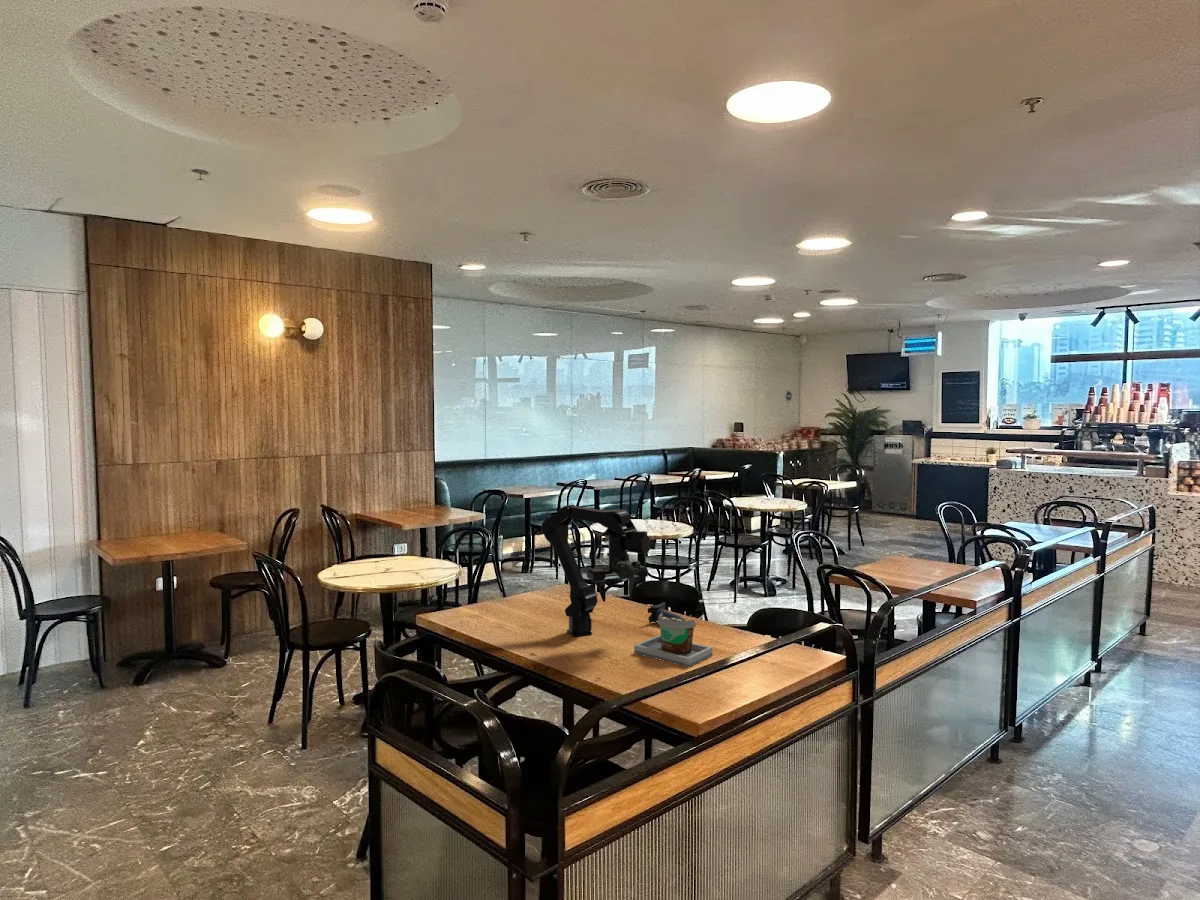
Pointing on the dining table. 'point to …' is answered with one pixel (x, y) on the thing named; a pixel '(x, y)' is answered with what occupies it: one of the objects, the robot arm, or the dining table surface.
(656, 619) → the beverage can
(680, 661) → the dock
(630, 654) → the dining table surface
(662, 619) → the food container
